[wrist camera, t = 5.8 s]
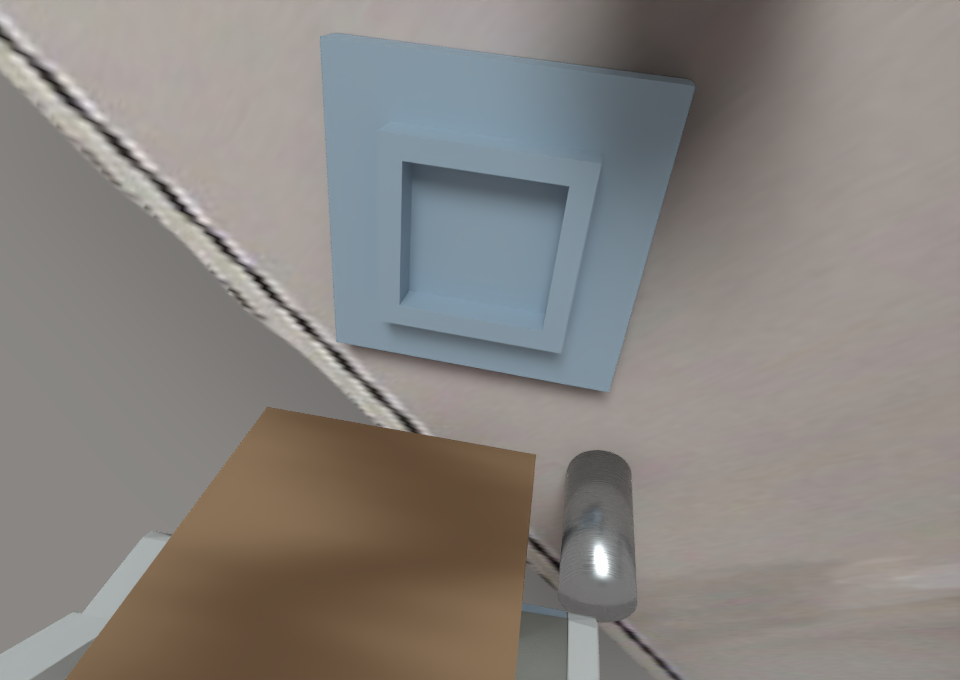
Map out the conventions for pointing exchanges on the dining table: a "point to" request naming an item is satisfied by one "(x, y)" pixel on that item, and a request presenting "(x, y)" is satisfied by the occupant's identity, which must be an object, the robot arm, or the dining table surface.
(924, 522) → the dining table surface
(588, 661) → the robot arm
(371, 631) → the block
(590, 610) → the peg
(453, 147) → the base
